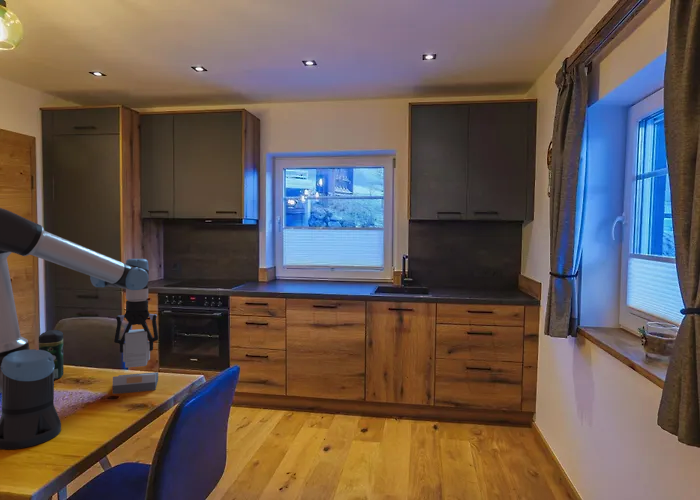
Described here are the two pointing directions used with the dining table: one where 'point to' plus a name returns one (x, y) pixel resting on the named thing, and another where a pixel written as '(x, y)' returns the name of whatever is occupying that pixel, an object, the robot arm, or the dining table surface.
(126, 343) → the supplement box
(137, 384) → the grey display stand
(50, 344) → the coffee jar
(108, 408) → the dining table surface
